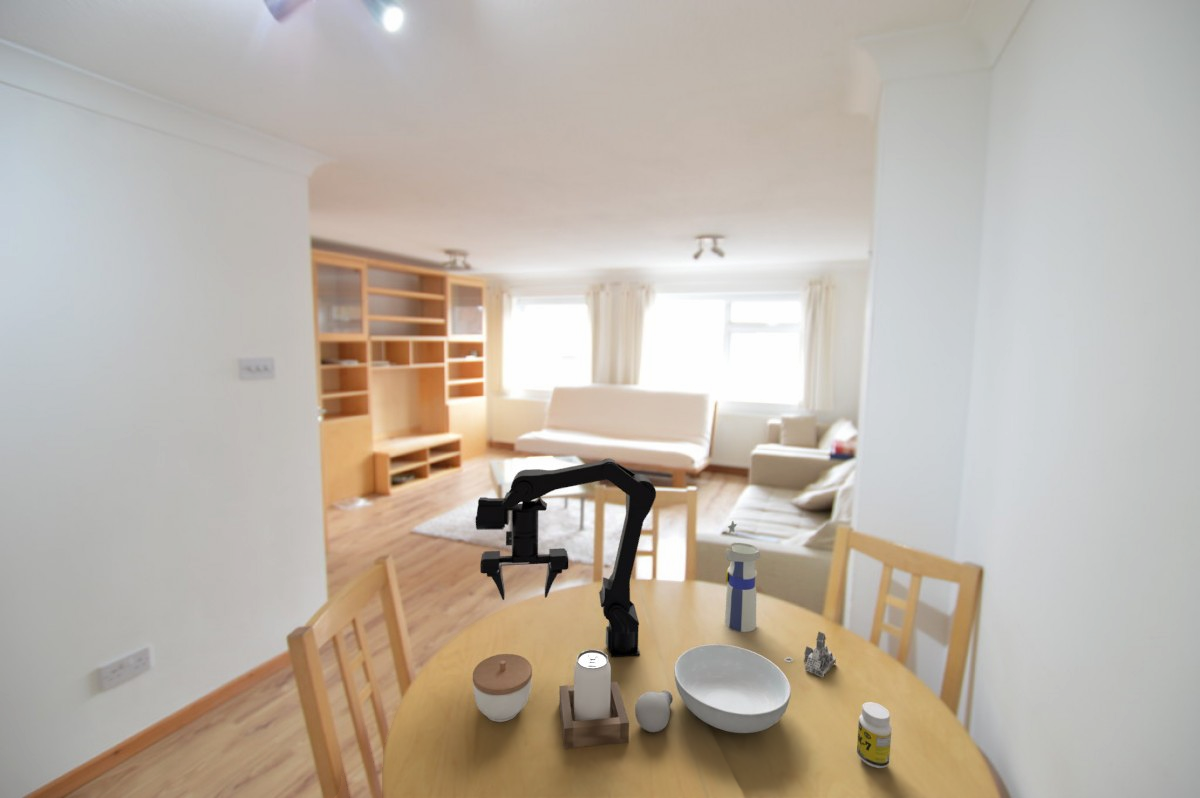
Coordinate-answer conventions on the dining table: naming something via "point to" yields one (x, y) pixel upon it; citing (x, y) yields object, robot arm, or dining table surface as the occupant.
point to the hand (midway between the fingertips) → (524, 597)
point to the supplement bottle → (874, 735)
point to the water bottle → (741, 586)
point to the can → (592, 686)
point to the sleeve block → (593, 722)
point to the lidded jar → (502, 686)
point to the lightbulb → (653, 710)
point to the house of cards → (818, 657)
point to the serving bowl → (732, 687)
